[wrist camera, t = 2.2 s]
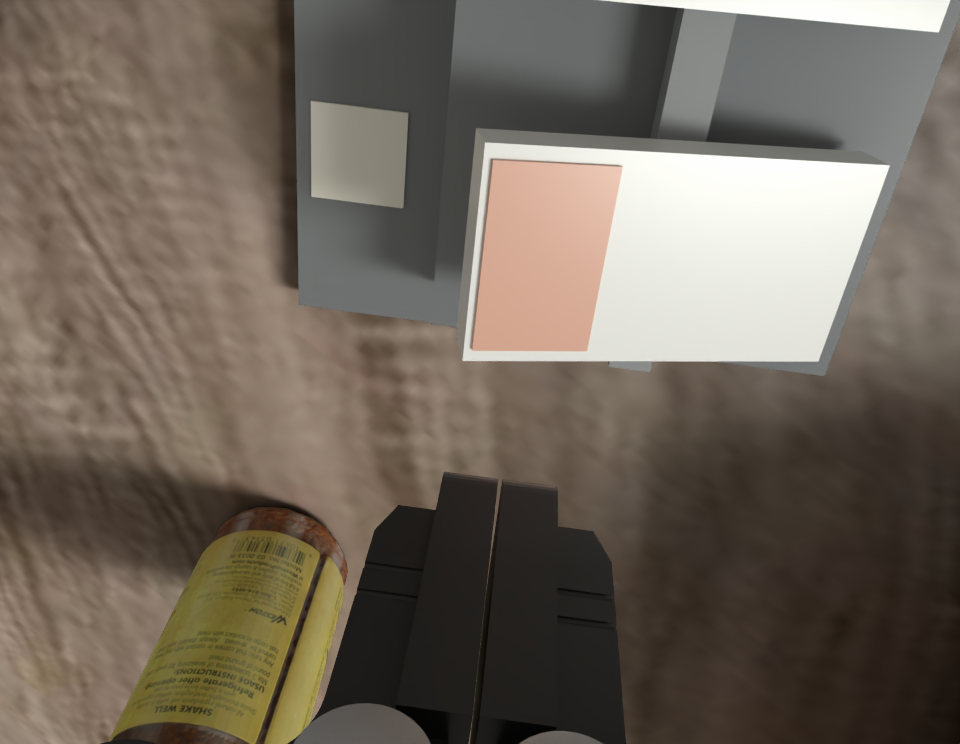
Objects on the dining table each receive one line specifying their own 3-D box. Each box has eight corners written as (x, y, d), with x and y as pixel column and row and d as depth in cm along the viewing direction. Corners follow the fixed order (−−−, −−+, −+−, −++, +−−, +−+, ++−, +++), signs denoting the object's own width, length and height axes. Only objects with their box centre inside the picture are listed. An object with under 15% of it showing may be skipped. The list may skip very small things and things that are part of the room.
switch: (861, 151, 20) (892, 166, 19) (796, 340, 23) (820, 363, 22) (476, 128, 18) (486, 144, 17) (455, 338, 21) (462, 362, 20)
